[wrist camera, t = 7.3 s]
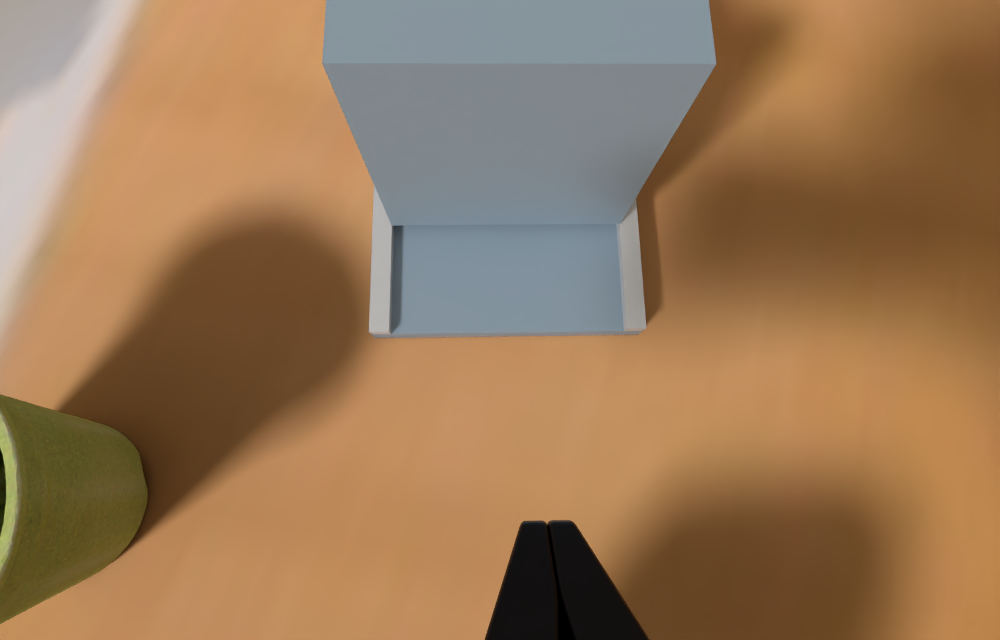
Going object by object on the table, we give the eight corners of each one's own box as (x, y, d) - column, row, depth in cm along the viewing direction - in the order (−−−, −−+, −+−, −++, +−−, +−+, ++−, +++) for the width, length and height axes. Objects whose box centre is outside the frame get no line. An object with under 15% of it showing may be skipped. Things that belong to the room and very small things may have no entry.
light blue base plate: (638, 334, 24) (646, 328, 22) (375, 337, 23) (368, 331, 22) (616, 52, 27) (623, 32, 26) (384, 51, 27) (379, 31, 25)
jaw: (620, 223, 23) (716, 64, 14) (391, 225, 23) (322, 63, 13) (616, 173, 24) (706, -15, 14) (393, 175, 24) (327, -17, 14)
